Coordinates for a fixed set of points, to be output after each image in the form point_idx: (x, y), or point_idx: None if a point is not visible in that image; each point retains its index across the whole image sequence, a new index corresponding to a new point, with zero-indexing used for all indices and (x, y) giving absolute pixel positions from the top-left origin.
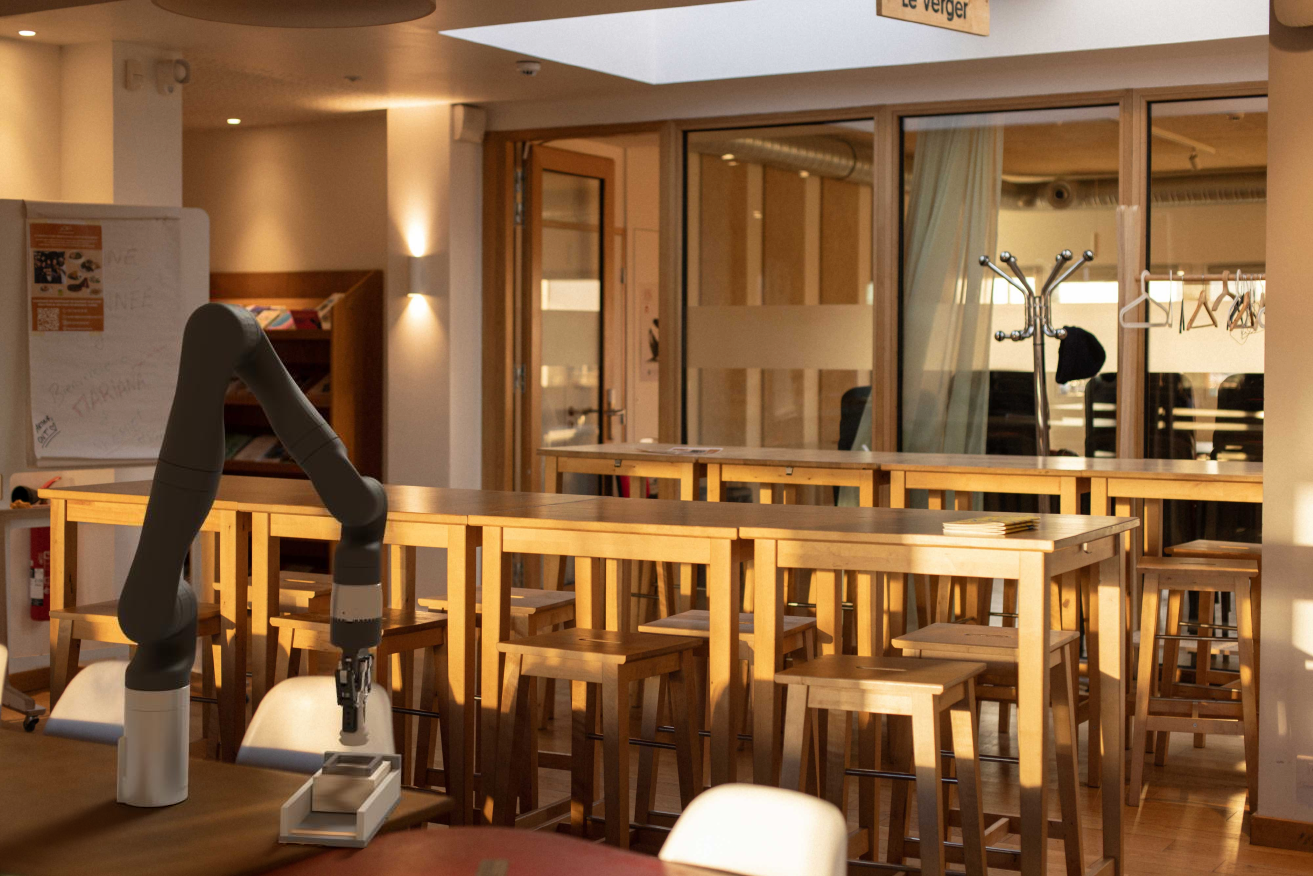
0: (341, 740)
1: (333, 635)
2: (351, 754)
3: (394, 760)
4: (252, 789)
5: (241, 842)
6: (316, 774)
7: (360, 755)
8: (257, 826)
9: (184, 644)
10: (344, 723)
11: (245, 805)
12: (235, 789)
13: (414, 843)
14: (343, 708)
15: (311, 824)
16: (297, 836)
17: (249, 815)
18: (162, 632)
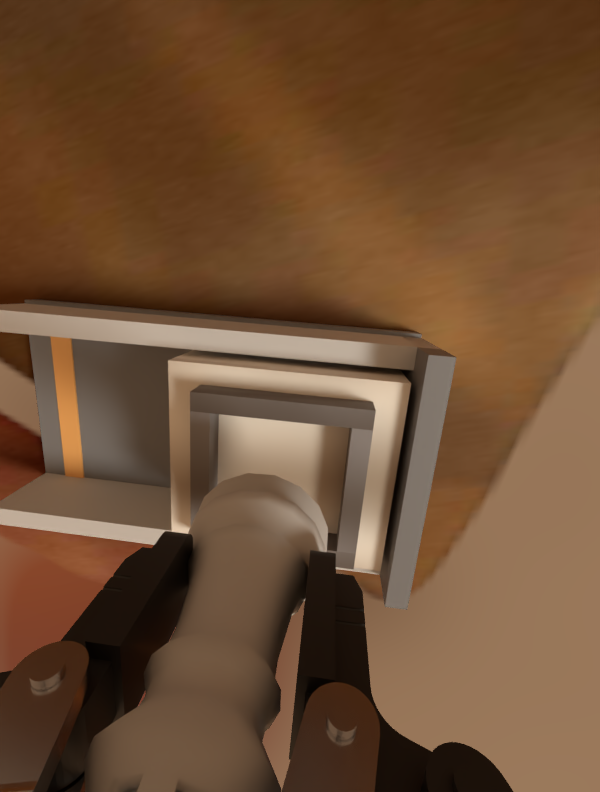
0: (219, 491)
1: None
2: (357, 470)
3: (384, 581)
4: (494, 81)
5: (21, 205)
6: (195, 367)
7: (347, 501)
8: (142, 211)
9: None
10: (119, 573)
11: (319, 114)
12: (497, 12)
13: (106, 563)
14: (92, 638)
15: (120, 360)
16: (32, 345)
17: (227, 158)
18: None
